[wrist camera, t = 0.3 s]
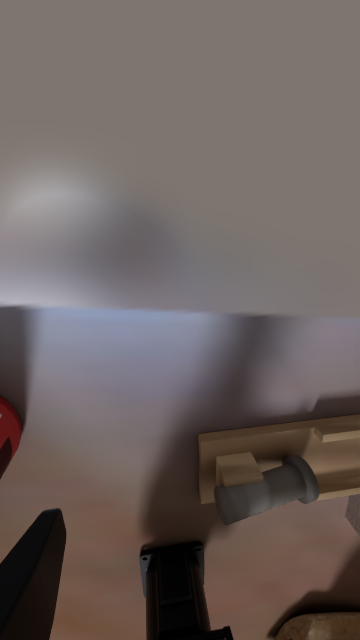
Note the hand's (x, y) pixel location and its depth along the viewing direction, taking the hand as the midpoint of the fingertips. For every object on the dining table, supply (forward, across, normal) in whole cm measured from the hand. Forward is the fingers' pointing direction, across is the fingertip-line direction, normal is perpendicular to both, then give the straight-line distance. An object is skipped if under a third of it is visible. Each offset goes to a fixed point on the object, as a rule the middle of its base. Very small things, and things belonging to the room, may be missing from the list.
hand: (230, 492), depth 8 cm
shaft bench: (+14, -15, +14) cm, 25 cm away
